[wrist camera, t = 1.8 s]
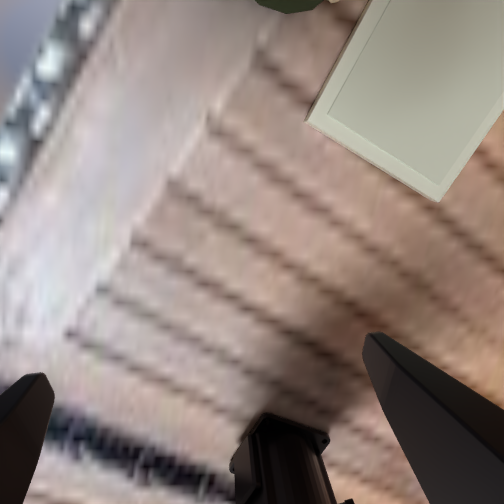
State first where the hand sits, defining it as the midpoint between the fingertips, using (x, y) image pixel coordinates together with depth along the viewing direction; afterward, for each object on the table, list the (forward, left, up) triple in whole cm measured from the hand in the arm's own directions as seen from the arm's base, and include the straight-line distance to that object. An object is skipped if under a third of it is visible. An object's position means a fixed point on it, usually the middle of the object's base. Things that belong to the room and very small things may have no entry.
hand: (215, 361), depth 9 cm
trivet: (-6, -16, -12) cm, 21 cm away
